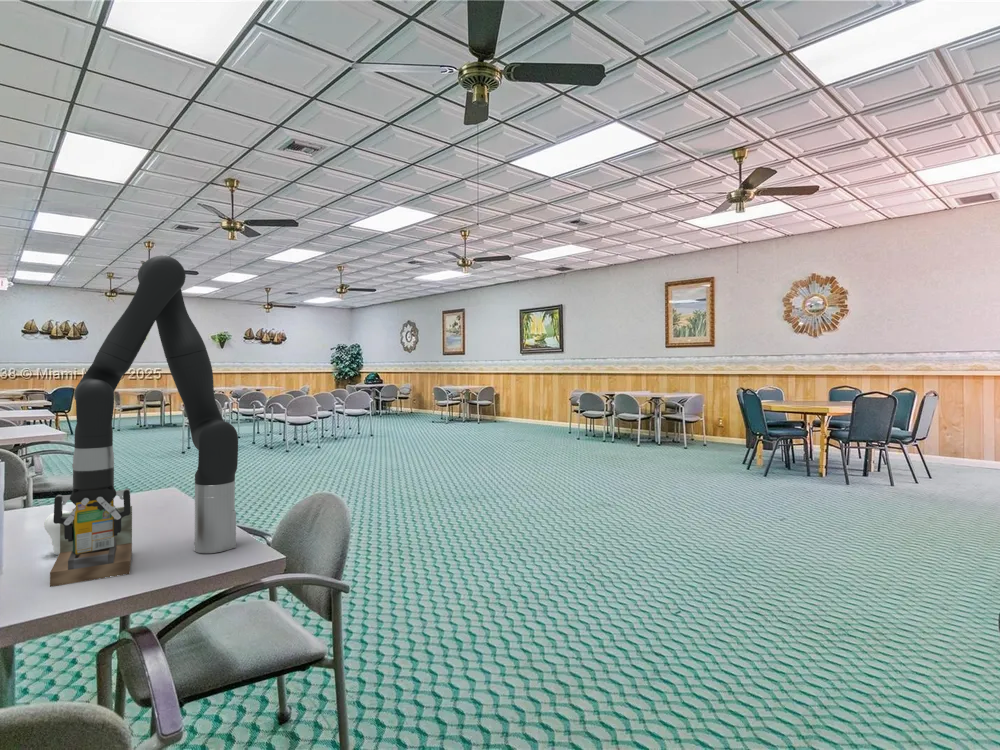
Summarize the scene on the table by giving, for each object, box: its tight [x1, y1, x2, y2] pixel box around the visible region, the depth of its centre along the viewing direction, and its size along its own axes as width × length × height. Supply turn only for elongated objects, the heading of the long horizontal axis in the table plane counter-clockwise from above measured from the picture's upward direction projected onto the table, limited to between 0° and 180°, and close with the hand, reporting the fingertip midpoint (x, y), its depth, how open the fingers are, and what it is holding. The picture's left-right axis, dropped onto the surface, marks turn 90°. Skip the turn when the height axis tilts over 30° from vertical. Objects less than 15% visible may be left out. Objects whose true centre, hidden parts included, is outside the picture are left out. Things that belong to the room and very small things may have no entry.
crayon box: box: [72, 498, 115, 555], centre depth 124 cm, size 7×3×12 cm, turn 139°
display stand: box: [49, 505, 133, 588], centre depth 126 cm, size 14×16×12 cm
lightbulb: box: [43, 509, 70, 556], centre depth 135 cm, size 6×6×11 cm
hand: (93, 537), depth 124 cm, fingers closed on crayon box, 8 cm apart
